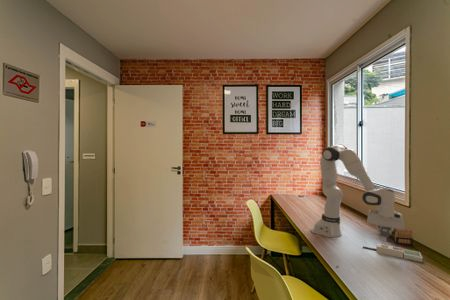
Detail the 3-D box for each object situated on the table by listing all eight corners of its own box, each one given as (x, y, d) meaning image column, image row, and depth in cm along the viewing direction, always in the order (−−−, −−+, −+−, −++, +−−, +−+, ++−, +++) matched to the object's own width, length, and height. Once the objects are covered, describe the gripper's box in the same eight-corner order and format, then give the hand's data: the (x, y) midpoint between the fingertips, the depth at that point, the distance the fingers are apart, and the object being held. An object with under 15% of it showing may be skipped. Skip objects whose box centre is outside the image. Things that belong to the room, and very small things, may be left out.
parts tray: (404, 258, 146) (404, 254, 146) (402, 252, 154) (402, 248, 154) (422, 262, 142) (422, 258, 142) (419, 256, 149) (419, 252, 149)
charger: (379, 240, 154) (380, 227, 154) (379, 237, 158) (380, 225, 158) (388, 242, 152) (389, 229, 151) (387, 239, 156) (388, 226, 155)
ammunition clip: (395, 243, 167) (396, 227, 167) (394, 242, 169) (394, 226, 169) (413, 245, 165) (413, 229, 164) (411, 244, 166) (412, 228, 166)
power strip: (362, 249, 159) (362, 242, 159) (362, 246, 164) (363, 239, 164) (402, 257, 147) (403, 250, 147) (401, 254, 152) (401, 247, 152)
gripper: (367, 210, 157) (366, 230, 157) (405, 216, 146) (403, 238, 147) (367, 208, 162) (366, 227, 163) (403, 214, 152) (402, 234, 152)
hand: (384, 232), depth 155 cm, fingers closed on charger, 5 cm apart
